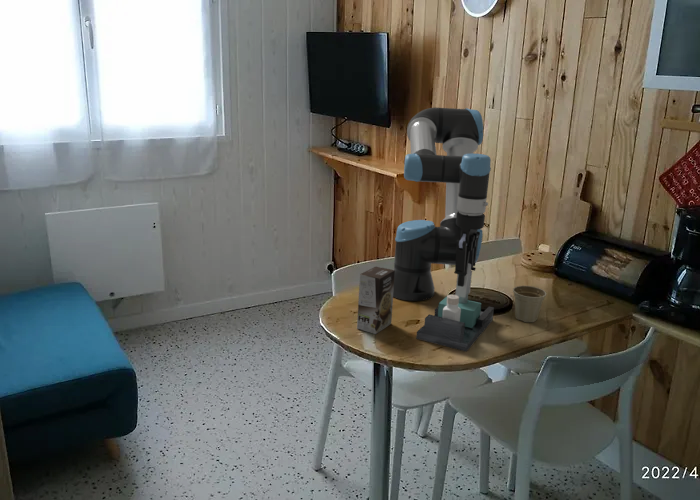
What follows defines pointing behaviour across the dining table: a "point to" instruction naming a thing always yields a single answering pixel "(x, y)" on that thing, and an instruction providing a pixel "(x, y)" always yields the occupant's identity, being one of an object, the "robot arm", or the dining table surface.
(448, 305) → the pepper shaker
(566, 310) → the dining table surface
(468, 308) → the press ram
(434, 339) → the tray
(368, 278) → the coffee box
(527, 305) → the flower pot
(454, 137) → the robot arm
